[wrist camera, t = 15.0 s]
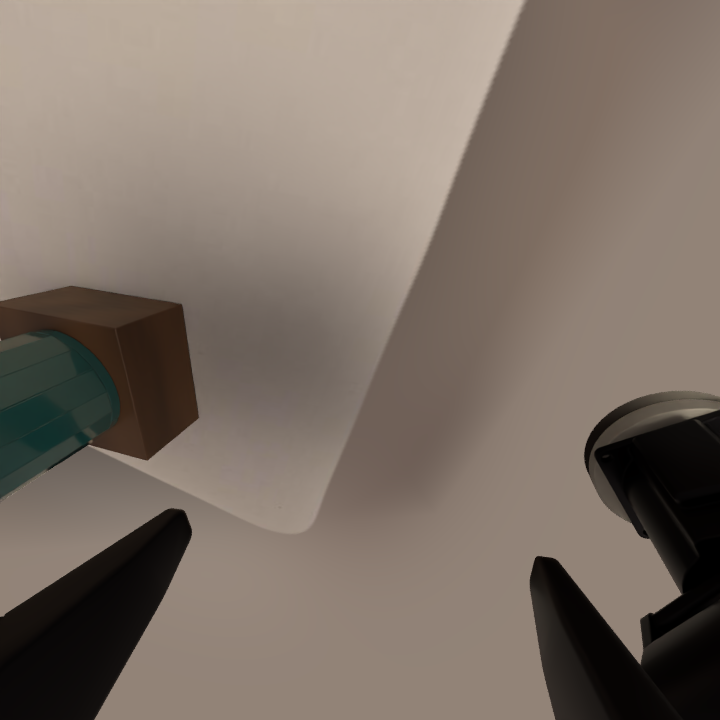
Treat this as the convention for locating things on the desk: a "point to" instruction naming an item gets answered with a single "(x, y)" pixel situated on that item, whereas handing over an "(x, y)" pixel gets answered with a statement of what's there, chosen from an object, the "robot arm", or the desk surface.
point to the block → (122, 358)
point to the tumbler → (49, 404)
